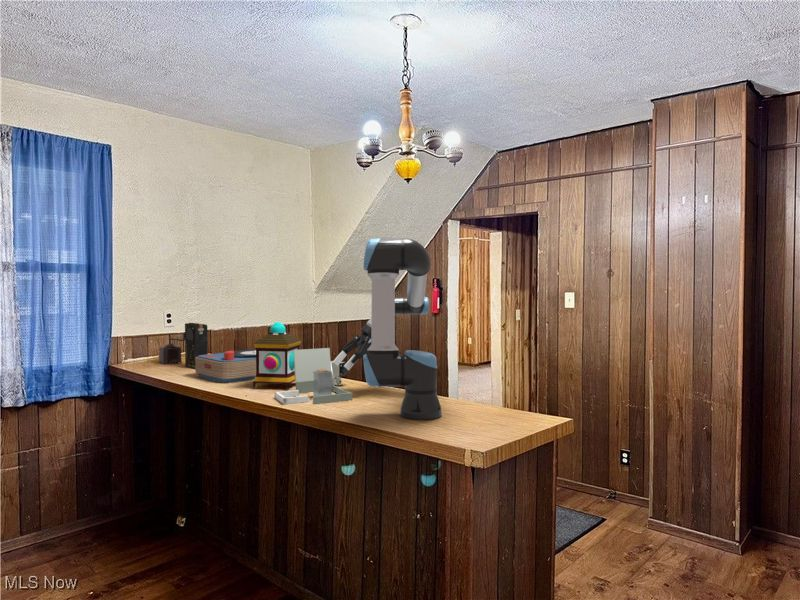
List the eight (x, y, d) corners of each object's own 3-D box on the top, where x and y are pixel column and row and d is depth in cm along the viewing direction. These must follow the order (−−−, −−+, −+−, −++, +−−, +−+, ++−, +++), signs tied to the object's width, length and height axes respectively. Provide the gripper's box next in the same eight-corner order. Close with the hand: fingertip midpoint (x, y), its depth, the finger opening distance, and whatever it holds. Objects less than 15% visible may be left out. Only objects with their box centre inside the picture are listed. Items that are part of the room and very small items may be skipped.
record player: (263, 366, 321) (263, 340, 321) (300, 374, 296) (300, 345, 296) (189, 376, 290) (189, 347, 289) (224, 385, 265) (224, 353, 264)
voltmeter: (183, 366, 320) (182, 322, 320) (198, 364, 326) (197, 322, 326) (194, 369, 309) (194, 324, 308) (209, 367, 315) (209, 323, 314)
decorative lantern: (290, 391, 249) (290, 323, 248) (248, 389, 252) (248, 323, 251) (305, 383, 269) (305, 320, 268) (267, 381, 272) (266, 320, 271)
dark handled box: (164, 364, 327) (163, 334, 327) (158, 362, 336) (157, 332, 335) (190, 362, 337) (190, 332, 337) (184, 360, 346) (184, 331, 345)
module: (331, 397, 235) (331, 370, 234) (317, 398, 232) (317, 371, 232) (327, 395, 240) (326, 368, 239) (313, 396, 237) (313, 369, 237)
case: (354, 400, 230) (354, 354, 229) (313, 404, 222) (313, 357, 221) (330, 388, 254) (330, 347, 253) (293, 392, 246) (293, 349, 245)
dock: (308, 402, 226) (308, 395, 226) (284, 404, 221) (284, 398, 221) (298, 395, 238) (298, 389, 238) (274, 398, 234) (274, 392, 233)
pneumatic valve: (342, 387, 258) (342, 361, 257) (322, 384, 264) (322, 359, 263) (349, 385, 263) (349, 359, 262) (329, 382, 269) (329, 358, 268)
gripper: (389, 338, 237) (357, 376, 230) (366, 332, 259) (336, 367, 253) (378, 326, 234) (345, 364, 228) (355, 321, 256) (325, 356, 250)
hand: (340, 366), depth 240 cm, fingers open, 13 cm apart
